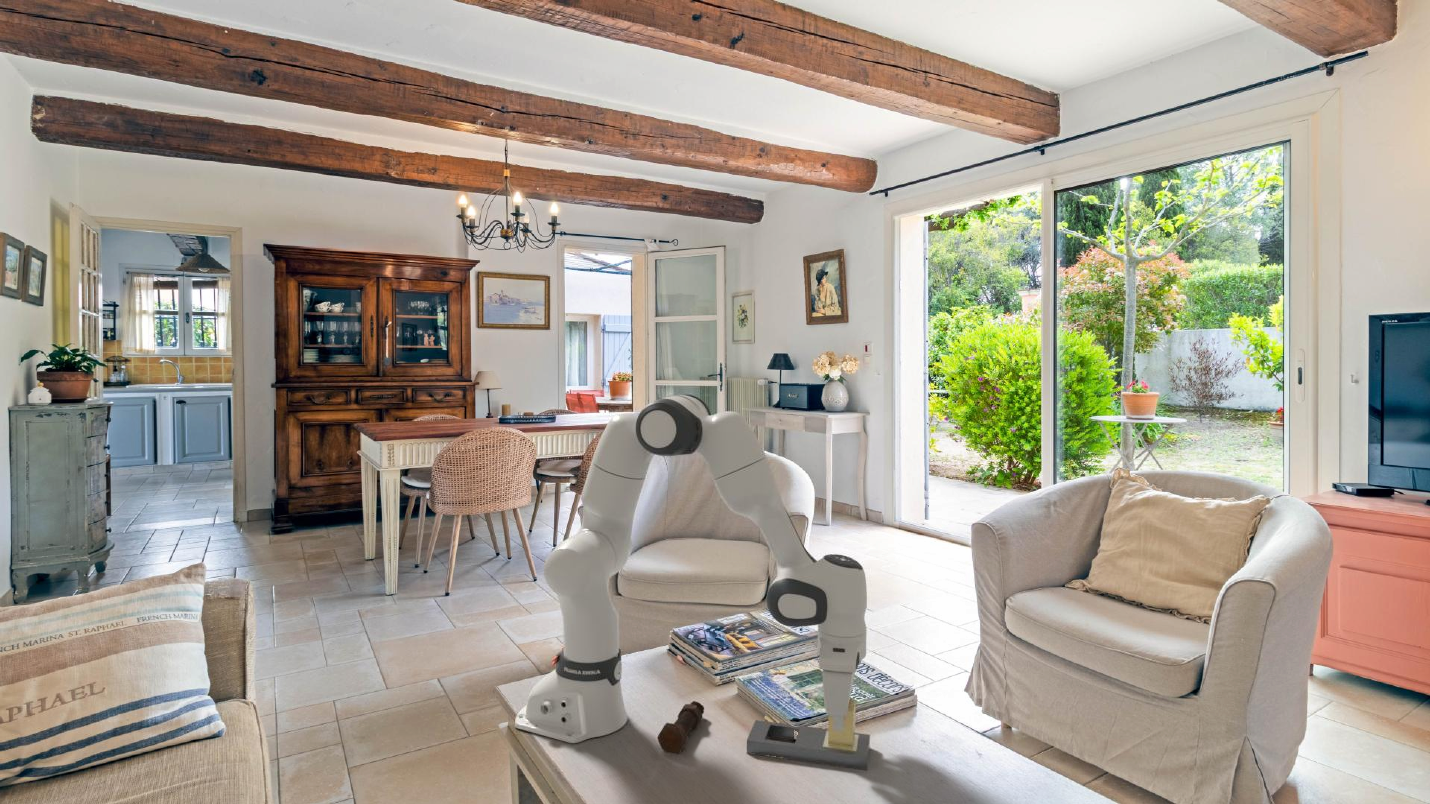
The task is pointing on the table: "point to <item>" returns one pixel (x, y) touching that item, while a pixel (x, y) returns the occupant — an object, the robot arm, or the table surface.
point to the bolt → (680, 728)
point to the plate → (807, 745)
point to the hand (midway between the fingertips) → (841, 717)
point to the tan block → (848, 733)
